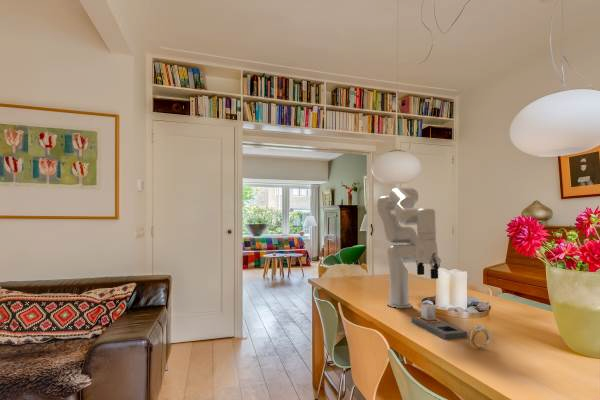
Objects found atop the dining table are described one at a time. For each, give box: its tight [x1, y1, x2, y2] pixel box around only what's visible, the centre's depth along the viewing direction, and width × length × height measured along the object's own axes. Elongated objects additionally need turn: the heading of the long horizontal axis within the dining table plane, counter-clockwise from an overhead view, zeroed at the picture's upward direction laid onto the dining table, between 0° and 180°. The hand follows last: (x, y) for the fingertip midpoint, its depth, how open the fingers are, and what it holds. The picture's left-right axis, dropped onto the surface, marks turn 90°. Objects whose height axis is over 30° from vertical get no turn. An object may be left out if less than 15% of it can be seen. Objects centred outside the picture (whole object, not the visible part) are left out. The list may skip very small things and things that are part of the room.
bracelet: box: [469, 324, 491, 350], centre depth 117 cm, size 7×3×8 cm, turn 94°
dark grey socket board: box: [411, 316, 468, 341], centre depth 137 cm, size 22×10×2 cm, turn 14°
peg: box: [420, 304, 436, 322], centre depth 144 cm, size 4×4×8 cm
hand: (427, 276), depth 145 cm, fingers open, 9 cm apart
